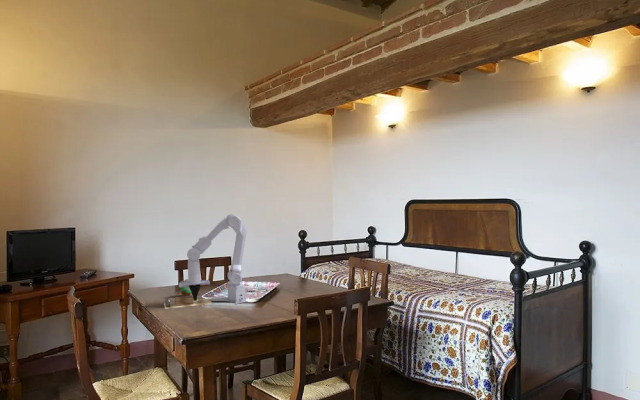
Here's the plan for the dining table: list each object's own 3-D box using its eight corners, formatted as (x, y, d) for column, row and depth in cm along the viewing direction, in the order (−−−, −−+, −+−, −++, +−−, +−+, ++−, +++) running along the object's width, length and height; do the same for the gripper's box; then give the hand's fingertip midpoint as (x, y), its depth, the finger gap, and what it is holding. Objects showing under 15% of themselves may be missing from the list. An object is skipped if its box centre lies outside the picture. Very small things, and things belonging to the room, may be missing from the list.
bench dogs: (169, 304, 224) (169, 296, 224) (170, 306, 218) (170, 299, 218) (165, 304, 223) (164, 297, 223) (165, 307, 217) (165, 300, 217)
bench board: (209, 301, 234) (209, 298, 234) (212, 306, 223) (212, 303, 223) (163, 306, 225) (163, 303, 225) (165, 312, 214) (165, 309, 214)
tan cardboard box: (191, 301, 228) (191, 295, 228) (193, 304, 222) (193, 298, 222) (175, 303, 225) (174, 297, 225) (176, 306, 219) (175, 299, 219)
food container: (191, 300, 237) (190, 281, 236) (180, 300, 238) (179, 280, 238) (202, 294, 249) (201, 276, 248) (191, 294, 250) (191, 276, 250)
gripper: (207, 270, 231) (208, 296, 232) (178, 272, 226) (178, 300, 226) (210, 272, 225) (210, 299, 225) (179, 275, 219) (180, 303, 220)
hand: (195, 300), depth 225 cm, fingers closed
